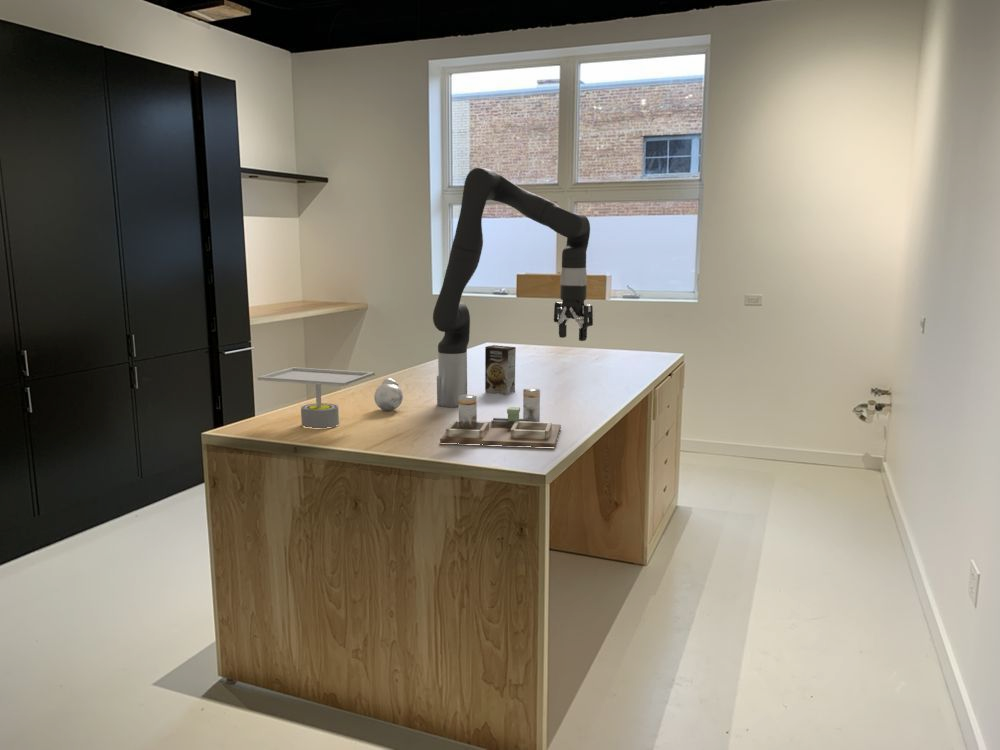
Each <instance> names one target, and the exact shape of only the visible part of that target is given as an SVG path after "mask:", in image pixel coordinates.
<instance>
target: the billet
mask: <svg viewBox="0 0 1000 750" xmlns="http://www.w3.org/2000/svg"><path fill="white" fill-rule="evenodd" d="M522 390H523V391H522V394H523V395H522V396H523V397H522V400H523V401H522V403H523V404H522V407H523V409H522V414H523V415H522V419H529V422H541V417H540V415H541V389H539V388H535V387H534V388H533V387H526V388H523V389H522Z"/></svg>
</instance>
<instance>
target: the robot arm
mask: <svg viewBox="0 0 1000 750" xmlns="http://www.w3.org/2000/svg"><path fill="white" fill-rule="evenodd" d="M462 191H463V192H462V198H461V206H460V212H459V215H458V216H459V217H458V219H457V224H456V229H455V233H454V238H453V241H452V246H451V249H450V252H449V258H448V261H447V262H448V263H447V266H446V270H445V272H444V273H445V275H444V278H443V283H442V286H441V289H440V291H439V295H438V298H437V299H436V302H435V305H434V308H433V313H432V321H433V325H434V326H435V328H436V329H437V330H438V331H440V332H442V333H444V335H443V338H442V339H441V340H440V341H439V342H438V345H437V361H438V362H437V364H438V365H437V366H438V367H437V368H438V369H437V370H438V371H437V372H438V375H437V376H436V404H437V405H436V406H438V405H441V406H440V407H444V406H445V408H459V396H460V395H468V353H467V352H468V351H467V350H468V345H469V342H470V335H471V334H470V331H471V330H470V329H471V315H470V311H469V309H468V307H467V305H466V304H465V302H463V301H461V299H462V296H463V292H464V289H466V286H467V285H468V283H469V282H470V280H471V278H472V277H473V276H474V274H475V272H476V270H477V268H478V266H479V264H480V260H481V255H482V251H483V245H484V234H483V226H482V225H483V223H482V221H483V214H484V210H485V207H486V204H487V201H494V202H499V203H502V204H504V205H507V206H509V207H511V208H513V209H514V210H517V212H520V213H521V214H522V215H523V216H525V217H527V218H528V219H530V220H532V221H534V222H536V223H538V224H540V225H543V226H545V227H548V228H549V229H550V230H553V231H554V232H556V233H557V234H559V235H561V236H563V237H564V238H566V246H565V247H564V248H563V250H562V251H561V272H560V300H561V301H557V302H555V303H554V310H553V311H554V312H553V322H554V323H557V325H558V337H559V338H566V337H567V326H568V325H567V323H568V321H569V320H570V319H572V320H574V321H575V322H577V324H578V326H579V328H578V341H580V342H585V341H586V340H587V338H588V327H591V326H593V325H594V323H593V322H594V317H593V316H594V314H593V313H594V311H593V305H592V304H587V305H586V304H585V300H586V299H587V284H588V283H587V282H588V281H587V279H588V275H587V249H588V246H589V241H590V234H591V224H590V220H589V219H588V216H586V215H584V214H583V213H576V212H572V211H569V210H566V209H564V208H562V207H560V206H559V204H557V203H555V202H553V201H551V200H549V199H547V198H545V197H542V196H540V195H539V194H535V193H533V192H531V191H528V190H526V189H524V188H522V187H520V186H518V185H516V184H515V183H513V182H512V181H510V180H508V179H507V178H506V177H504V176H502V175H501V174H500V173H498V172H497V171H495V170H493V169H491V168H485V167H475V168H473V169H471V170H470V171H469V172H468V173H467V175H466V177H465V181H464V185H463V190H462Z"/></svg>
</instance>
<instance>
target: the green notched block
mask: <svg viewBox="0 0 1000 750" xmlns="http://www.w3.org/2000/svg"><path fill="white" fill-rule="evenodd" d="M520 412H521V407H520V406H508V407H507V409H506V414H507V418H508V421H519V419H520Z"/></svg>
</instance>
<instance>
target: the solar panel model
mask: <svg viewBox="0 0 1000 750" xmlns="http://www.w3.org/2000/svg"><path fill="white" fill-rule="evenodd" d="M375 375H376V372H374V371H359V370H358V371H357V370H343V369H330V368H329V369H327V368H313V367H312V368H309V367H295V366H292V367H289V368H285V369H282V370H277V371H273V372H270V373H267V374H263V375H259V376H257V381H264V382H265V381H266V382H278V383H279V382H280V383H291V384H292V383H295V384H307V385H315V403H308V404H304V405H302V406H300V413H301V417H300V418H301V426H302V425H303V426H305V427H312V428H327V427H333V426H336V425H338V424H339V425H340V418H339V417H340V416H339V415H340V414H339V405H337V404H334V403H328V402H327V403H324V402H323V403H322V388H321V386H322V385H323V386H335V387H346V386H348V385H351V384H353V383H357V382H359V381H362V380H366V379H367V378H371V377H375Z"/></svg>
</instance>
